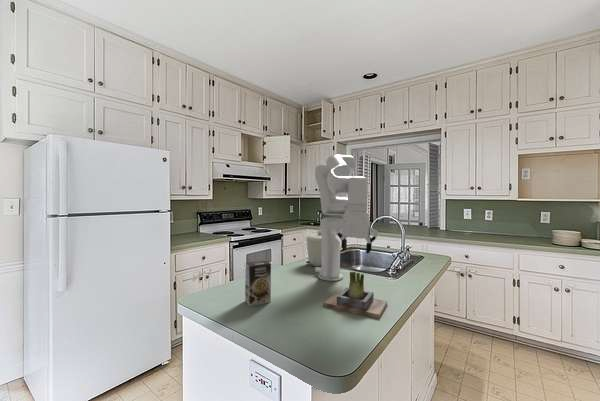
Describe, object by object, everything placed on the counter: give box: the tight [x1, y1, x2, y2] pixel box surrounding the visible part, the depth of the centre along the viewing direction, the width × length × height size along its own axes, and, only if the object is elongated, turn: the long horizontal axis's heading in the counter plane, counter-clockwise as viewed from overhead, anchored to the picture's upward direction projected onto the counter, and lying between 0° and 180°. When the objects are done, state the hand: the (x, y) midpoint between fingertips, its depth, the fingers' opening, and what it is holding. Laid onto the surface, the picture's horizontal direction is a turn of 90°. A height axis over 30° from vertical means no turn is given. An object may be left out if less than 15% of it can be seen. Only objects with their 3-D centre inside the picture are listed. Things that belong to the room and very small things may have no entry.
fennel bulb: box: [348, 271, 365, 300], centre depth 114 cm, size 6×5×12 cm
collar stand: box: [322, 287, 388, 320], centre depth 115 cm, size 22×14×4 cm, turn 62°
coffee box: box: [244, 260, 272, 307], centre depth 117 cm, size 9×6×16 cm
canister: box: [305, 229, 322, 268], centre depth 174 cm, size 18×18×21 cm
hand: (356, 251), depth 114 cm, fingers open, 9 cm apart
